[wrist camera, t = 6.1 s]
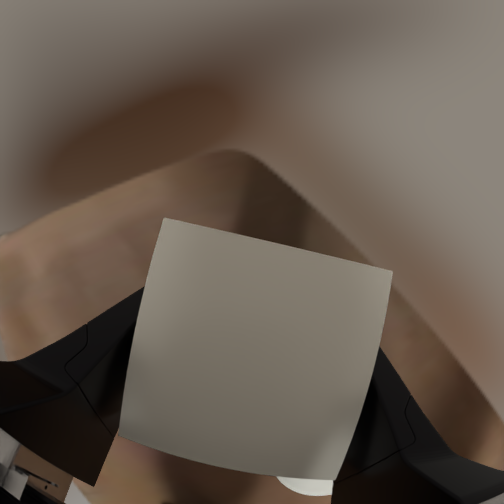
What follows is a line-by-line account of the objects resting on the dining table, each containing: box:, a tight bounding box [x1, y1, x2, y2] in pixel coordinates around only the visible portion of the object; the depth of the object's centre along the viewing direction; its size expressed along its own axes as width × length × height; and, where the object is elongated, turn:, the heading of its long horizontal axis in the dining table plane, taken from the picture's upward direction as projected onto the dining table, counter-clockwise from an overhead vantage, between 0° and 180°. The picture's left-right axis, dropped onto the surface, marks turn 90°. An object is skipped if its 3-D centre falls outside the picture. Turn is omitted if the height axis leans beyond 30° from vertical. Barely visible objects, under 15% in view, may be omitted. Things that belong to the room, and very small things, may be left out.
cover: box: [118, 218, 393, 480], centre depth 11 cm, size 6×6×10 cm
